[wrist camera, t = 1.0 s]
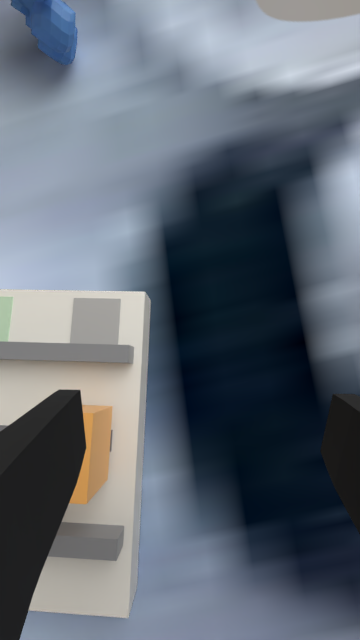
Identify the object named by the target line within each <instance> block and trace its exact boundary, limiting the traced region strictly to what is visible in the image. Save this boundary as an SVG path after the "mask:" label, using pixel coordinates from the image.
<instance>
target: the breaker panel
mask: <svg viewBox="0 0 360 640" xmlns="http://www.w3.org/2000/svg"><path fill="white" fill-rule="evenodd" d="M150 308H151V300H150V299H149V297H148V296H147V294H146V292H126V291H67V290H9V289H0V431H2V430H3V429H5V428H6V427H7V426H9V425H10V424H11V423H13V422H14V421H16V420H17V419H18V418H20V417H21V416H23V415H24V414H25V413H27V412H28V411H29V410H31V409H32V408H33V407H35V406H36V405H38V404H39V403H40V402H42V401H43V400H44V399H46V398H47V397H49V396H50V395H51V394H53V393H54V392H56V391H57V390H59V389H61V390H80V391H81V400H82V405H97V406H113V407H112V423H111V438H110V453H109V469H108V480H107V481H106V482H105V483H104V484H103V486H102V487H101V488H100V489H99V490H98V491H97V493H96V494H95V495H94V496H93V497H92V499H91V500H90V501H89V502H88V503H87V504H71V503H69V504H68V507H67V509H66V512H65V514H64V517H63V519H62V522H61V524H60V527H59V529H58V532H57V534H56V537H55V539H54V542H53V544H52V547H51V549H50V552H49V554H48V557H47V559H46V562H45V564H44V567H43V569H42V572H41V574H40V577H39V580H38V583H37V585H36V588H35V591H34V594H33V597H32V600H31V603H30V606H29V610H28V611H41V612H54V613H67V614H80V615H93V616H106V617H119V618H129V614H130V611H131V607H132V604H133V600H134V597H135V593H136V589H137V578H138V558H139V537H140V516H141V495H142V474H143V454H144V433H145V412H146V391H147V370H148V349H149V329H150Z"/></svg>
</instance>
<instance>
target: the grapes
mask: <svg viewBox="0 0 360 640" xmlns="http://www.w3.org/2000/svg"><path fill="white" fill-rule="evenodd" d="M11 1H12V2H11V6H13V7H14V8H15V9H17V10H18V11H20V12H21V13H23V14H24V15H26V25H27V26H28V27H29V28H30V29H31V34H32V35H34V36H35V37H36V38H37V39H38V48H39V49H40V50H41V51H43V52H44V53H45V54H46V55H48V56H49V57H51V58H52V59H54V60H55V61H57V62H59V63H60V64H64V65H69V64H71V63H72V61H73V60H74V58H75V53H76V45H77V28H76V27H75V12H74V11H73V10H72V9H71V8H70V7H69V6H68V5H66V4H65V3H64V2H63V1H61V0H11Z"/></svg>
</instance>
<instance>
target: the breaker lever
mask: <svg viewBox="0 0 360 640" xmlns="http://www.w3.org/2000/svg"><path fill="white" fill-rule="evenodd" d="M112 407H113V406H97V405H82V410H83V419H84V429H85V439H86V451H85V455H84V459H83V463H82V467H81V470H80V474H79V477H78V481H77V484H76V487H75V489H74V492H73V494H72V497H71V499H70V502H69V503H71V504H87V503H88V502H89V501H90V500H91V499H92V497H93V496H94V495H95V494H96V493H97V491H98V490H99V489H100V488H101V487H102V486H103V484H104V483H105V482H106V481H107V480H108V469H109V453H110V438H111V423H112Z"/></svg>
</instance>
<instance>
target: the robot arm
mask: <svg viewBox="0 0 360 640" xmlns="http://www.w3.org/2000/svg"><path fill="white" fill-rule="evenodd" d="M85 451H86V439H85V429H84V419H83V410H82V400H81V391H80V390H61V389H59V390H57V391H56V392H54V393H53V394H51V395H50V396H49V397H47V398H46V399H44V400H43V401H42V402H40V403H39V404H38V405H36V406H35V407H33V408H32V409H31V410H29V411H28V412H27V413H25V414H24V415H23V416H21V417H20V418H18V419H17V420H16V421H14V422H13V423H11V424H10V425H9V426H7V427H6V428H5V429H3V430H2V431H0V640H19V639H20V635H21V632H22V629H23V626H24V623H25V619H26V616H27V613H28V610H29V606H30V603H31V600H32V597H33V594H34V591H35V588H36V585H37V583H38V580H39V577H40V574H41V572H42V569H43V567H44V564H45V562H46V559H47V557H48V554H49V552H50V549H51V547H52V544H53V542H54V539H55V537H56V534H57V532H58V529H59V527H60V524H61V522H62V519H63V517H64V514H65V512H66V509H67V507H68V504H69V502H70V499H71V497H72V494H73V492H74V489H75V487H76V484H77V481H78V477H79V474H80V470H81V467H82V463H83V459H84V455H85ZM321 454H322V456H323V459H324V462H325V465H326V467H327V470H328V472H329V475H330V477H331V480H332V482H333V485H334V487H335V489H336V491H337V493H338V495H339V496H340V498H341V500H342V502H343V504H344V506H345V508H346V510H347V511H348V513H349V515H350V517H351V519H352V521H353V523H354V524H355V526H356V528H357V530H358V532H359V534H360V397H359V396H357V395H355V394H333V396H332V401H331V405H330V410H329V415H328V419H327V424H326V428H325V433H324V437H323V442H322V446H321Z"/></svg>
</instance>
